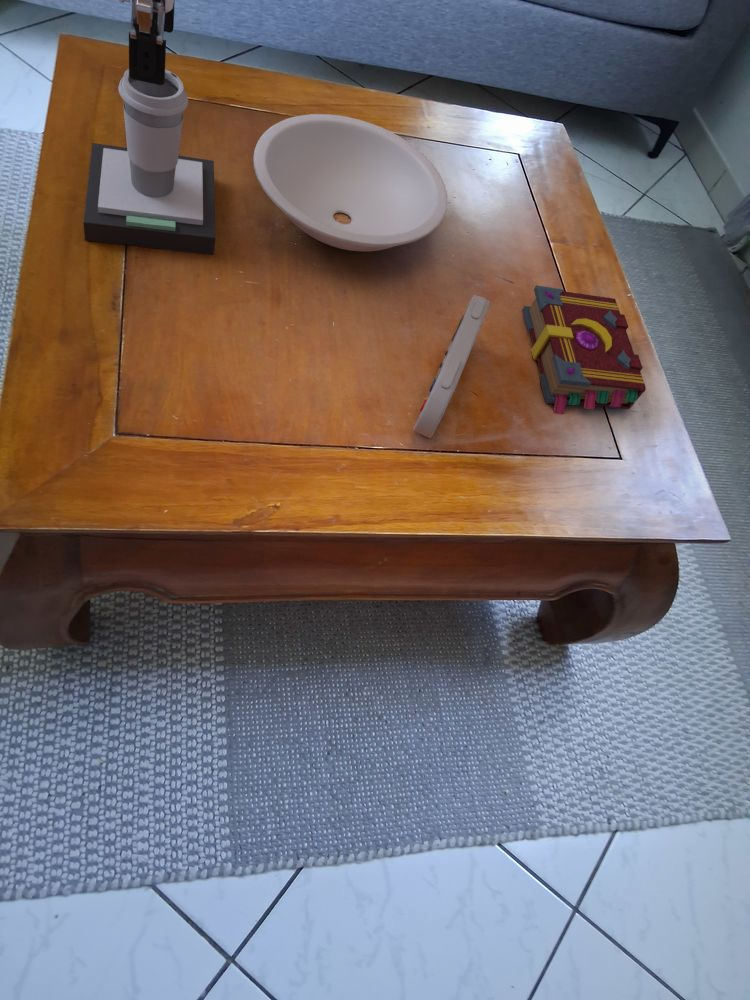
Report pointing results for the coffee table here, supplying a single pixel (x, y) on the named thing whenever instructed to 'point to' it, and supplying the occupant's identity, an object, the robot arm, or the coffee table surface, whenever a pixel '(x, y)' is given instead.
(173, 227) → the scale
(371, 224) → the white sink basin
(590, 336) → the decorative book
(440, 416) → the game controller
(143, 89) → the cup
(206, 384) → the coffee table surface
